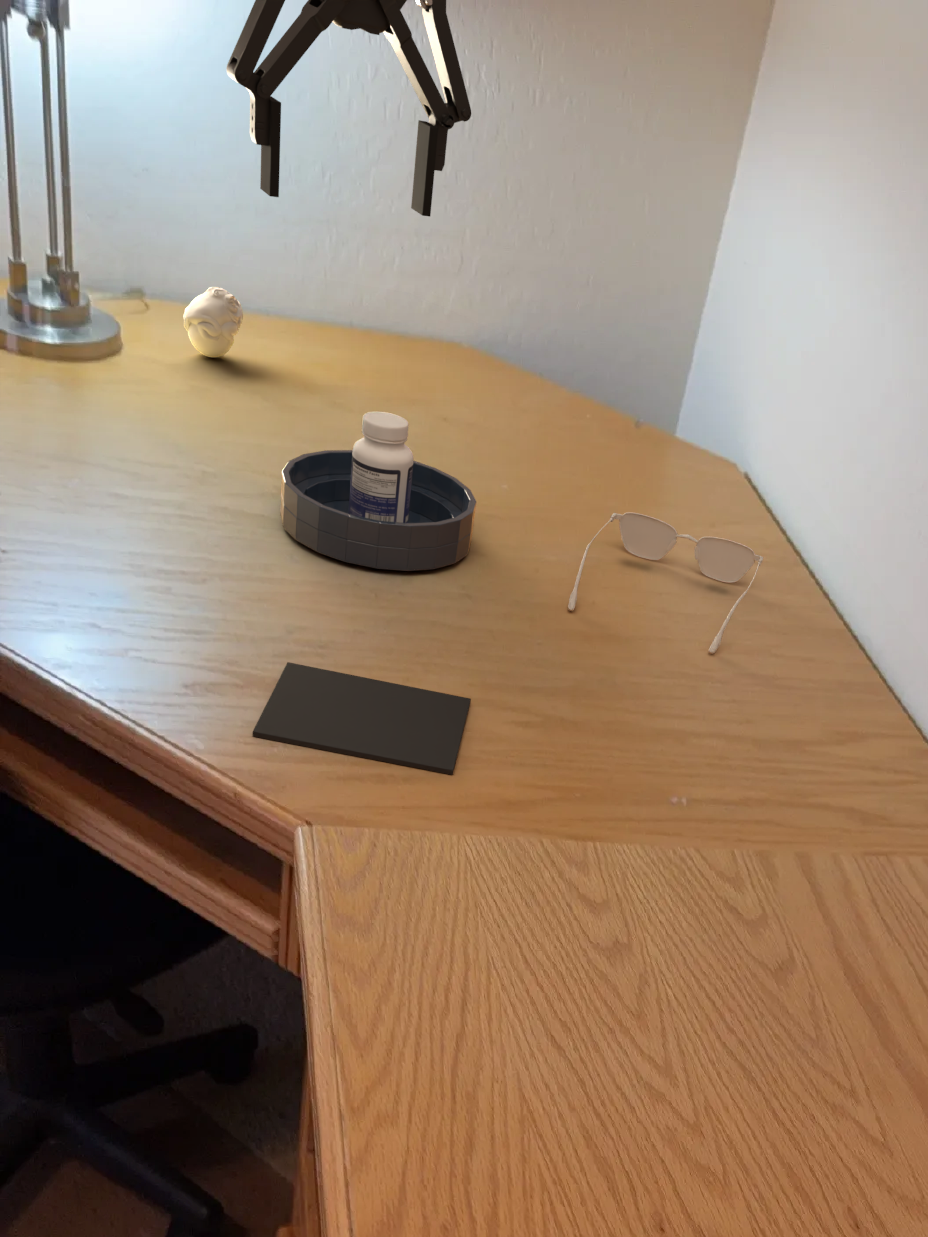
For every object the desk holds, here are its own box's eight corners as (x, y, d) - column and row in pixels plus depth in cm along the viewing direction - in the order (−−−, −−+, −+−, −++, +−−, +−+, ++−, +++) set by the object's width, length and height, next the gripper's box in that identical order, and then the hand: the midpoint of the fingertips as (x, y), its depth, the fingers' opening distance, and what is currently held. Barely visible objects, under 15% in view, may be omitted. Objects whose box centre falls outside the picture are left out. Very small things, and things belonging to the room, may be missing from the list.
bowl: (261, 550, 111) (262, 498, 108) (303, 484, 124) (305, 436, 121) (457, 591, 113) (463, 541, 110) (478, 522, 126) (484, 475, 123)
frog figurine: (254, 362, 149) (255, 295, 144) (205, 367, 144) (205, 298, 139) (219, 345, 151) (219, 279, 146) (170, 349, 146) (169, 281, 142)
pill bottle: (375, 514, 121) (384, 404, 114) (418, 535, 119) (430, 425, 113) (335, 524, 117) (342, 412, 111) (378, 547, 115) (388, 434, 109)
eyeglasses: (754, 590, 126) (766, 550, 124) (722, 659, 113) (734, 616, 110) (606, 546, 127) (615, 505, 125) (557, 609, 114) (565, 565, 111)
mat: (252, 736, 88) (252, 731, 88) (287, 666, 97) (287, 661, 96) (452, 775, 90) (453, 770, 90) (470, 703, 98) (471, 698, 98)
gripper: (212, -162, 89) (213, 195, 102) (533, -82, 100) (495, 230, 114) (185, -169, 93) (189, 174, 107) (494, -92, 105) (462, 209, 118)
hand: (347, 203), depth 110 cm, fingers open, 13 cm apart
